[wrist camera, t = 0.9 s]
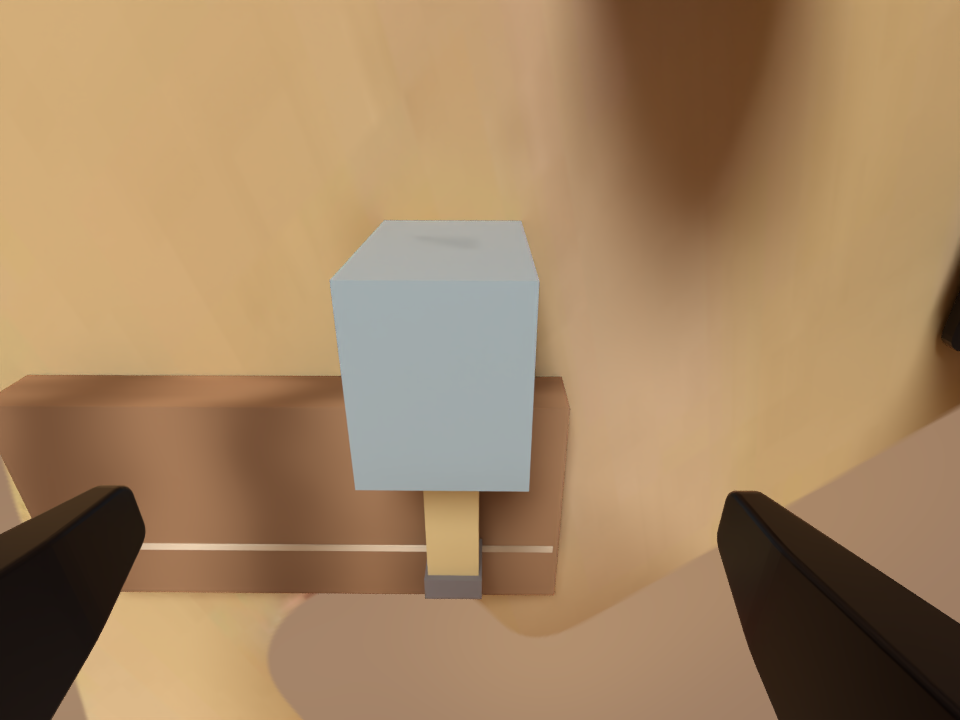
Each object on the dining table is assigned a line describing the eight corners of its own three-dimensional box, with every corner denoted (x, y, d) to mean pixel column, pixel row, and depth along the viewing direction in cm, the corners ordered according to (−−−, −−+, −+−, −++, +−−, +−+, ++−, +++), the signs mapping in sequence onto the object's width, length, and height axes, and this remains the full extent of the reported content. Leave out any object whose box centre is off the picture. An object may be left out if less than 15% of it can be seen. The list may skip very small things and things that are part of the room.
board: (561, 376, 18) (570, 409, 16) (548, 553, 21) (554, 596, 20) (27, 375, 18) (-25, 407, 16) (102, 550, 22) (66, 592, 20)
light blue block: (521, 220, 16) (539, 281, 10) (511, 519, 20) (520, 669, 15) (384, 220, 16) (329, 280, 10) (406, 518, 20) (377, 667, 15)
